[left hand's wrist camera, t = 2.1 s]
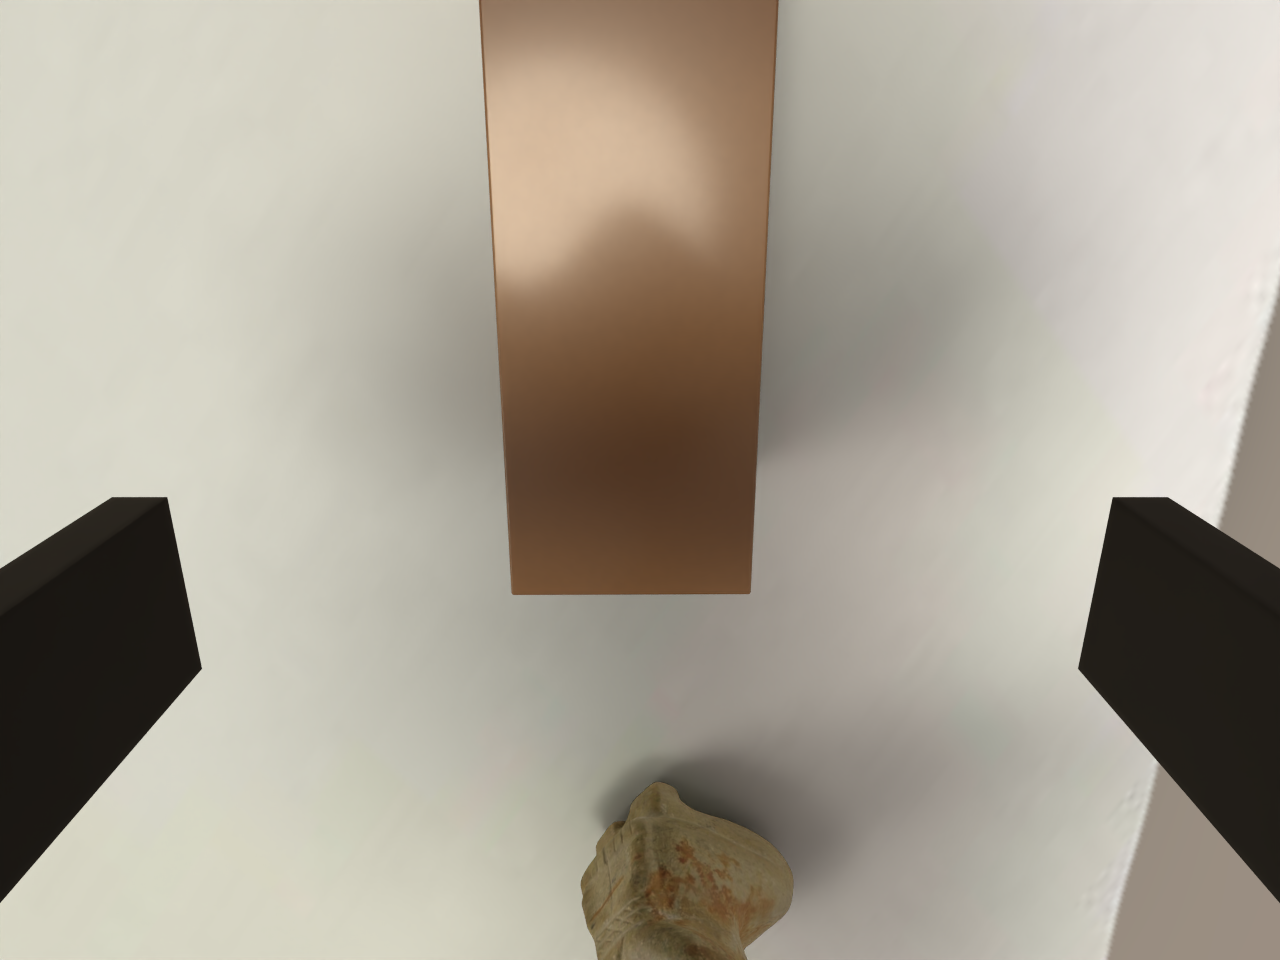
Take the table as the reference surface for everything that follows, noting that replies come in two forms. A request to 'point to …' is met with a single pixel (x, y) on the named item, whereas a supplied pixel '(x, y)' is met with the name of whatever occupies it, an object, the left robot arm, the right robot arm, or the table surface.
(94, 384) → the table surface
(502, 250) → the bar
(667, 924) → the sculpture
